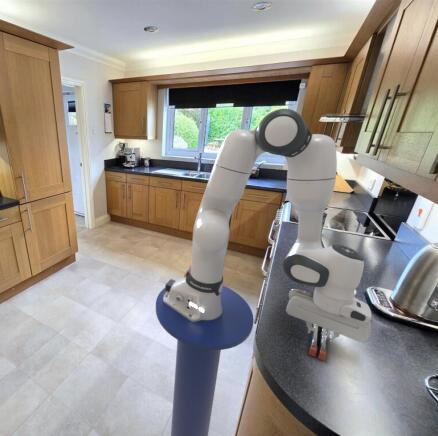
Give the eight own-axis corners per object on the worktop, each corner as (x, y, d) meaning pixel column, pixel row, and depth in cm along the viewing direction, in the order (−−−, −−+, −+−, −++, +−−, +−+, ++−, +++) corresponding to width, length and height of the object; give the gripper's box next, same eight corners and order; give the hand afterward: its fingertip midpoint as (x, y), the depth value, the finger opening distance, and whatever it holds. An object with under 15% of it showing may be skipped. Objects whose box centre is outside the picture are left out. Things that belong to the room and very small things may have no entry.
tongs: (323, 361, 68) (326, 353, 67) (309, 354, 70) (311, 347, 69) (325, 327, 80) (327, 321, 79) (312, 322, 82) (314, 316, 81)
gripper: (289, 291, 73) (280, 327, 78) (379, 321, 62) (362, 361, 66) (292, 281, 78) (283, 316, 83) (376, 308, 67) (360, 346, 71)
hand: (319, 336), depth 74 cm, fingers closed on tongs, 3 cm apart
